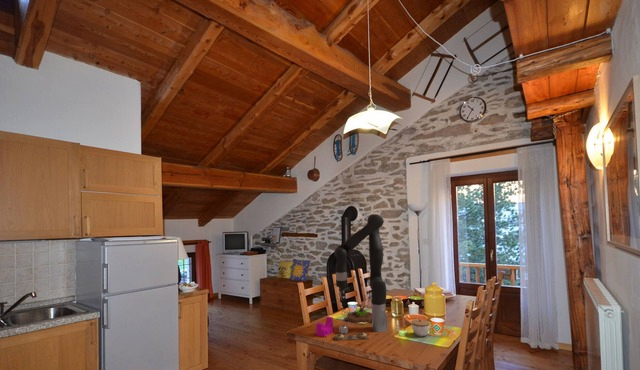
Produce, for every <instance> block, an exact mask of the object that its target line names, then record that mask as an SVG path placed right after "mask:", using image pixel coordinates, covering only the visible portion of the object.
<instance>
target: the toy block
mask: <svg viewBox="0 0 640 370" xmlns="http://www.w3.org/2000/svg"><path fill="white" fill-rule="evenodd" d="M315 325H316V326H315V327H316V330H315V331H316V336H318V337H323V336H324V338H325V336H326V337H327V336H329V335H331V334H332V333H333V332H334V318H333V317H329V316H327V317H326V318H325V323H321V322H317V323H316V324H315ZM330 333H331V334H330Z"/></svg>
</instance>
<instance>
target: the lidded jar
mask: <svg viewBox="0 0 640 370" xmlns="http://www.w3.org/2000/svg"><path fill="white" fill-rule="evenodd" d="M411 329H412V331H413V333H414V334H415V335H416V336H418V337H426V336H427V335H428V333H429V331H430V322H429V320H427V319H422V318H415V319H412V321H411Z"/></svg>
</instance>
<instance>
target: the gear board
mask: <svg viewBox="0 0 640 370" xmlns="http://www.w3.org/2000/svg"><path fill="white" fill-rule="evenodd" d="M334 339H335V340H334ZM369 339H370V338H369V336H368V333H365V332H358V333H357V334H348V335H347V334H340V333H338V334H337V333H336V334H335V335H333V340H334V342H340V341H339V340H342V341H341V342H344V341H343V340H346V341H359V340H360V341H365V340H369Z"/></svg>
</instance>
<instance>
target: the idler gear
mask: <svg viewBox="0 0 640 370" xmlns="http://www.w3.org/2000/svg"><path fill="white" fill-rule="evenodd" d="M348 333H349V326H348V325H346V324H340V325H339V326H338V334H342V335H347V334H348Z"/></svg>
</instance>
